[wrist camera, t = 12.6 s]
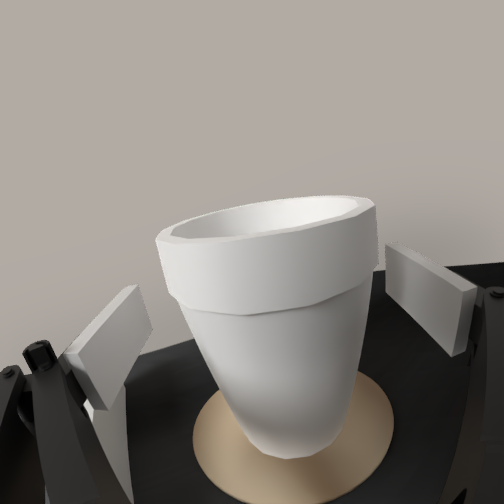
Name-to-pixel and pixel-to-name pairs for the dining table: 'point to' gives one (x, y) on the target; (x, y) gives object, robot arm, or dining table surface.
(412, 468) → the dining table surface
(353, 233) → the foam cup
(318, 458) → the cork coaster
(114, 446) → the low wall
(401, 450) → the dining table surface
